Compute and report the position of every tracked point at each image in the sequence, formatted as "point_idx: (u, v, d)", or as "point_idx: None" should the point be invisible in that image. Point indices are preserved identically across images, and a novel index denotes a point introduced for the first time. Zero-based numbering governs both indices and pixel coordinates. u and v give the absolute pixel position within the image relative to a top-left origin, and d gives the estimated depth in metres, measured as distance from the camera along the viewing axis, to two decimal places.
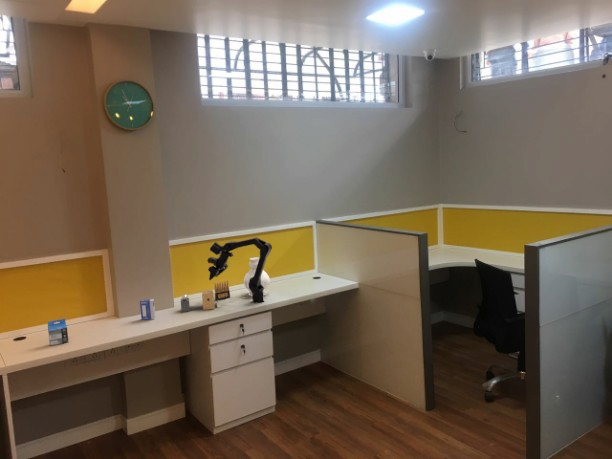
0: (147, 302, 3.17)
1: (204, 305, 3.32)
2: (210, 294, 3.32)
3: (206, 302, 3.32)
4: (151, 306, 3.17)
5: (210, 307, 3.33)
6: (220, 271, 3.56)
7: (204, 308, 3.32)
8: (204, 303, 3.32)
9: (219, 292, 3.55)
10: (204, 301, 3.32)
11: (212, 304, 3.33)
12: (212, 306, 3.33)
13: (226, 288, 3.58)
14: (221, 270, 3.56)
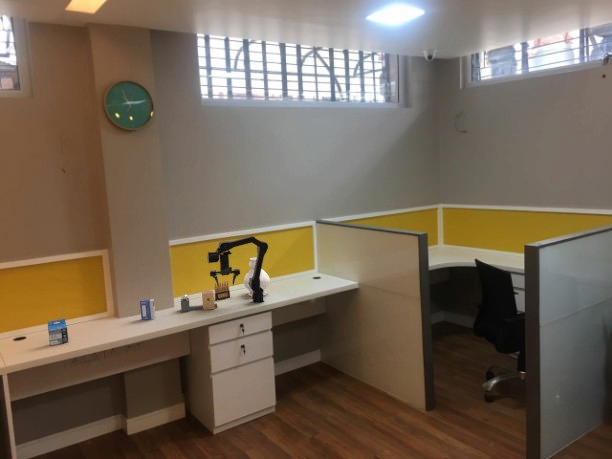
0: (147, 302, 3.17)
1: (204, 305, 3.32)
2: (210, 294, 3.32)
3: (206, 302, 3.32)
4: (151, 306, 3.17)
5: (210, 307, 3.33)
6: (217, 278, 3.38)
7: (204, 308, 3.32)
8: (204, 303, 3.32)
9: (219, 292, 3.55)
10: (204, 301, 3.32)
11: (212, 304, 3.33)
12: (212, 306, 3.33)
13: (226, 288, 3.58)
14: None
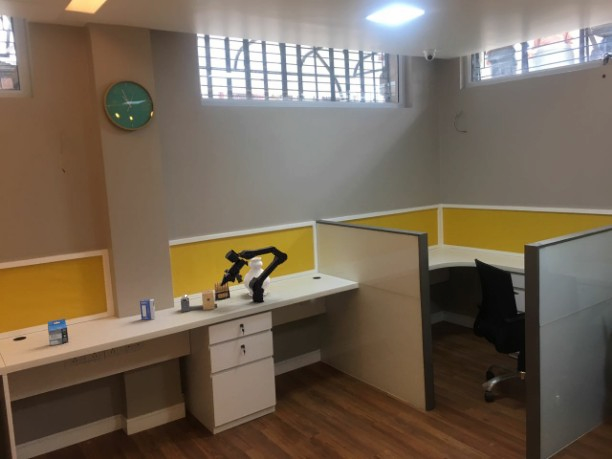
0: (147, 302, 3.17)
1: (204, 305, 3.32)
2: (210, 294, 3.32)
3: (206, 302, 3.32)
4: (151, 306, 3.17)
5: (210, 307, 3.33)
6: None
7: (204, 308, 3.32)
8: (204, 303, 3.32)
9: (219, 292, 3.55)
10: (204, 301, 3.32)
11: (212, 304, 3.33)
12: (212, 306, 3.33)
13: (226, 288, 3.58)
14: None
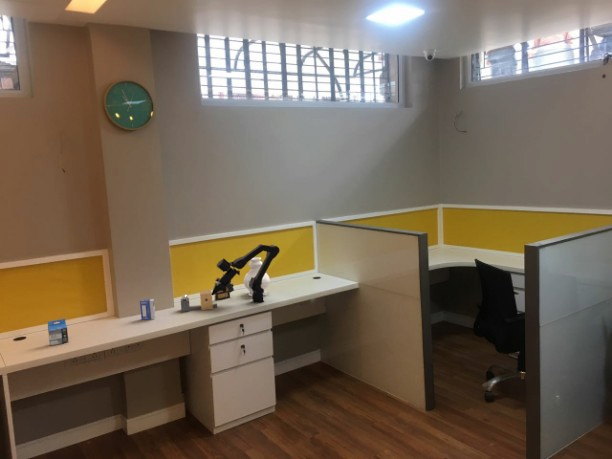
0: (147, 302, 3.17)
1: (202, 305, 3.32)
2: (208, 294, 3.32)
3: (204, 302, 3.32)
4: (151, 306, 3.17)
5: (208, 307, 3.33)
6: None
7: (202, 308, 3.32)
8: (202, 303, 3.32)
9: (219, 292, 3.55)
10: (202, 301, 3.32)
11: (210, 304, 3.33)
12: (210, 306, 3.33)
13: None
14: None
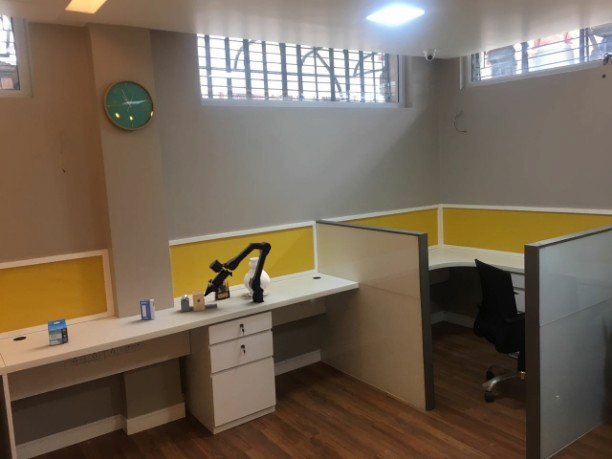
0: (147, 302, 3.17)
1: (194, 306, 3.31)
2: (200, 295, 3.31)
3: (196, 303, 3.31)
4: (151, 306, 3.17)
5: (201, 308, 3.32)
6: None
7: (194, 309, 3.31)
8: (194, 304, 3.31)
9: (219, 292, 3.55)
10: (194, 302, 3.31)
11: (203, 305, 3.32)
12: (202, 307, 3.32)
13: (226, 288, 3.58)
14: None
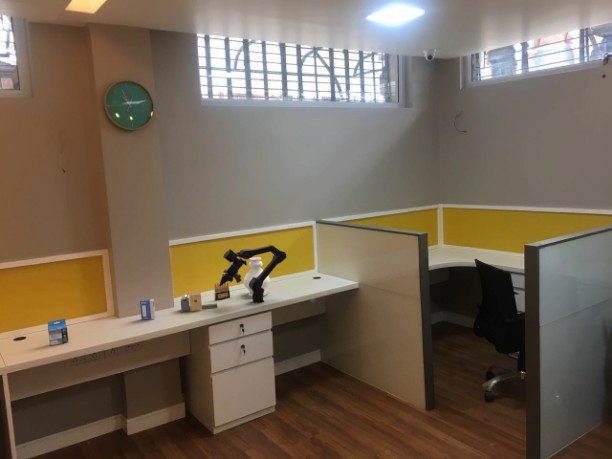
0: (147, 302, 3.17)
1: (191, 306, 3.30)
2: (197, 295, 3.30)
3: (193, 304, 3.31)
4: (151, 306, 3.17)
5: (197, 308, 3.31)
6: None
7: (191, 309, 3.31)
8: (191, 304, 3.30)
9: (219, 292, 3.55)
10: (191, 302, 3.30)
11: (199, 305, 3.31)
12: (199, 307, 3.32)
13: (226, 288, 3.58)
14: None
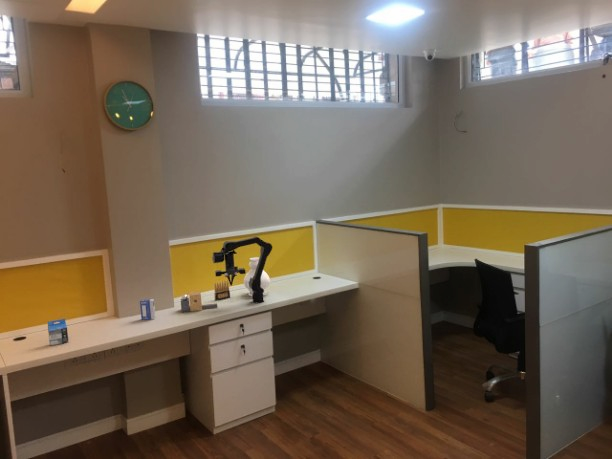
0: (147, 302, 3.17)
1: (191, 306, 3.30)
2: (197, 295, 3.30)
3: (193, 304, 3.31)
4: (151, 306, 3.17)
5: (197, 308, 3.31)
6: None
7: (191, 309, 3.31)
8: (191, 304, 3.30)
9: (219, 292, 3.55)
10: (191, 302, 3.30)
11: (199, 305, 3.31)
12: (199, 307, 3.32)
13: (226, 288, 3.58)
14: None
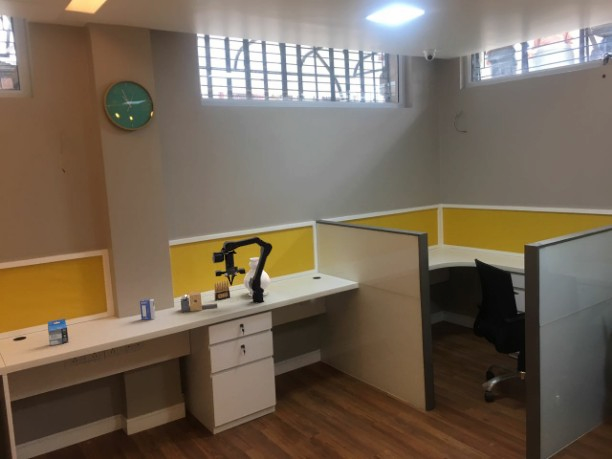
0: (147, 302, 3.17)
1: (191, 306, 3.30)
2: (197, 295, 3.30)
3: (193, 304, 3.31)
4: (151, 306, 3.17)
5: (197, 308, 3.31)
6: None
7: (191, 309, 3.31)
8: (191, 304, 3.30)
9: (219, 292, 3.55)
10: (191, 302, 3.30)
11: (199, 305, 3.31)
12: (199, 307, 3.32)
13: (226, 288, 3.58)
14: None
